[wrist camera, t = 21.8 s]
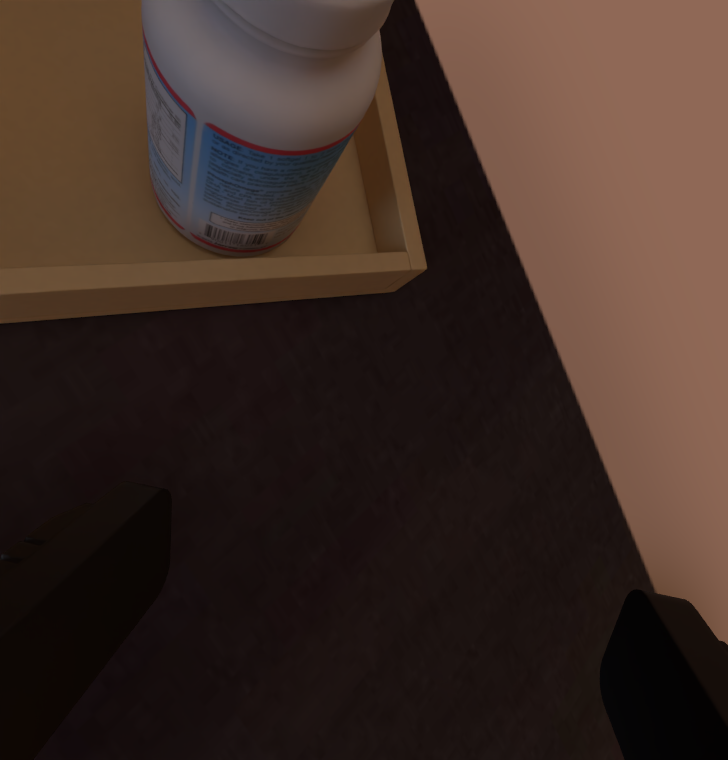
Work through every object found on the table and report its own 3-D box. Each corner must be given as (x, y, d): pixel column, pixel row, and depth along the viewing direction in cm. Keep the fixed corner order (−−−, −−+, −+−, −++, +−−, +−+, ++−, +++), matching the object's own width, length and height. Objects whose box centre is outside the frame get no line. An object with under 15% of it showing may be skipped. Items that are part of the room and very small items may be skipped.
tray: (332, -13, 23) (355, -76, 21) (394, 292, 22) (427, 269, 20) (-145, -113, 16) (-209, -232, 13) (-88, 331, 15) (-144, 302, 12)
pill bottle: (325, 180, 21) (482, -75, 11) (259, 290, 19) (374, 103, 9) (201, 89, 19) (248, -315, 9) (114, 199, 18) (53, -158, 7)
